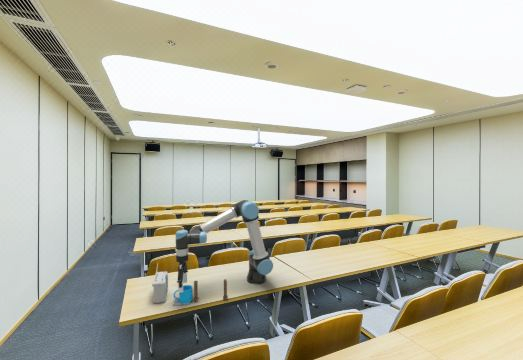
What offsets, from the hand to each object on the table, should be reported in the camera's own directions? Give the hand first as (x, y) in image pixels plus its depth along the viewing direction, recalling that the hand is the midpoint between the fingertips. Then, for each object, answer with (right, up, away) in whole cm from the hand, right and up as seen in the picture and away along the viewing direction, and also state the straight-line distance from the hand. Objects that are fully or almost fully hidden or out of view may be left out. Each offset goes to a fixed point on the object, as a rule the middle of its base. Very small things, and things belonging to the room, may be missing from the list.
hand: (183, 287), depth 161 cm
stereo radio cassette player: (-17, -9, +7) cm, 21 cm away
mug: (0, -9, 0) cm, 9 cm away
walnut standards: (+18, -9, +2) cm, 20 cm away
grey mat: (0, -9, 0) cm, 9 cm away
